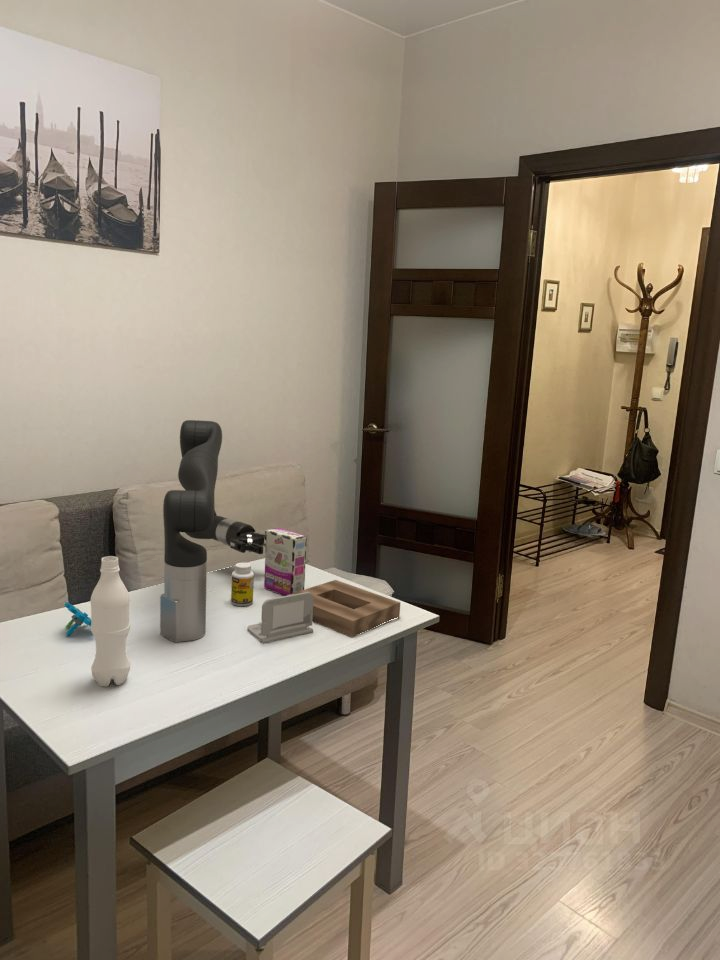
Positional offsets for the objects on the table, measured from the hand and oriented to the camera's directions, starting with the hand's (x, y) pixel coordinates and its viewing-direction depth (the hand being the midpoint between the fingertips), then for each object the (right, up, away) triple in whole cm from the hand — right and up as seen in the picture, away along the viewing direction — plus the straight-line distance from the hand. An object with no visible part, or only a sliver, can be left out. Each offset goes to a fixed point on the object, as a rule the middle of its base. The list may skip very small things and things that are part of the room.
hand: (274, 547), depth 199 cm
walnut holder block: (+19, -15, -14) cm, 28 cm away
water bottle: (-26, -21, -55) cm, 64 cm away
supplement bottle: (-7, -13, -11) cm, 18 cm away
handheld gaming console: (+4, -17, -26) cm, 32 cm away
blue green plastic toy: (-39, -16, -33) cm, 54 cm away
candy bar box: (+3, -12, -1) cm, 12 cm away
